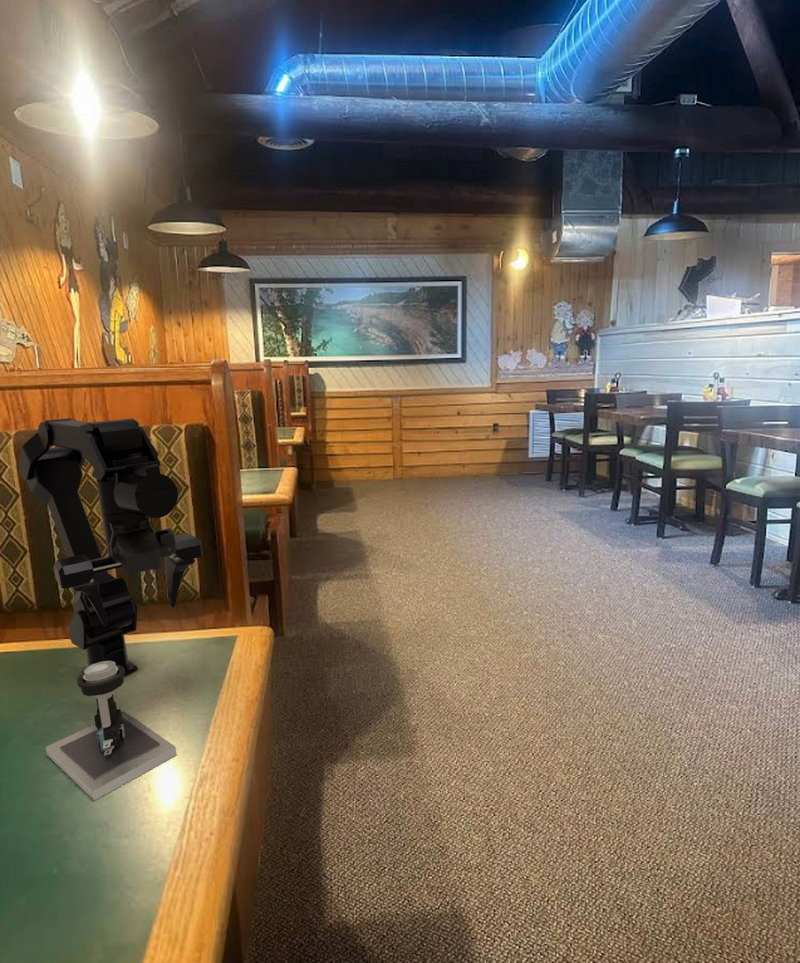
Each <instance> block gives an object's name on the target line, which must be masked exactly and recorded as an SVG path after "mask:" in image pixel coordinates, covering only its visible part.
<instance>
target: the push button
mask: <svg viewBox="0 0 800 963" xmlns="http://www.w3.org/2000/svg"><path fill="white" fill-rule="evenodd" d="M83 671H84V674H82V673H81V675H80V676H79V677H77V680H76V682H77V686H78V687H79V688H80V691H81V692H82V695H83V696H87V697H93V698H96V706H97V710H96V714H95V715H94V717H93V719H94V724H95V726H96V728H97V729H98V731H97V734H96V735H97V742H98V744H99V742H100V745H101V751H102V752H103V751H105V752H104V755H109V754H111V752H112V749H116V748H117V746H118V741H119V737H120V733H121V732H122V735H123V739H124V736H125V732H124V723H123V717H122V710H121V708H117V702H116V701H115V699H114V698H115V697H114V694H113V693H114V692H116V691H117V689H119V688H120V687H122V685H123V684H124V683H125V678H124V676H125V675H126V674H125V669H124V667H122V666H120V665H116V664H115V662H113V661H102V662H98V663H95V664H92V665H90V666H89V665H88V666H87V667H86V668H85V669H84V670H83ZM124 674H125V675H124ZM98 738H99V740H98ZM108 751H109V753H106V752H108Z"/></svg>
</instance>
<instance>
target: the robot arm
mask: <svg viewBox="0 0 800 963" xmlns="http://www.w3.org/2000/svg"><path fill="white" fill-rule="evenodd" d="M54 446H56V447H54ZM85 460H86V462H87V461H88V463H89V464H90V466H91V467H92V469H93V471H92V473H91V476H92V478H94V479H96V486H97V492H98V498H99V500H98V501H99V505H100V512H101V518H102V524H103V530H104V537H105V543H106V548H107V549H106V550H107V556H103V555H102V553H101V550H100V547H99V545H98V542H97V540H96V536H95V534H94V531H93V528H92V525H91V523H90V521H89V517H88V516H87V512H86V511H85V507H84V505H83V502H82V499H81V496H80V493H79V489H80V485H81V482H82V479H83V476H84V473H83V470H82V469H83V465H84V462H85ZM160 466H161V460H159V452H158V451H157V449H156V448H155V446H154V444H153V443H152V441H151V440H150V439H149V437H148V435H147V433H146V431H145V429H144V428H143V427H142V426H141V425H140V422H138V421H137V420H136V419H134V418H123V419H113V420H111V419H110V420H104V421H93V422H92V421H91V422H89V421H83V420H77V419H75V418H70V417H68V418H66V417H65V418H58V419H57V418H56V419H46V420H44V421H42V422H39V424H38V427H37V432H36V433H35V434H34V435H33V436H31V437H30V438H29V439H28V440H27V441H26V442H25V443H24V444H23V445H22V446H21V450H20V456H19V459H18V469H19V474H20V477H21V478H22V479H23V481H26V484H27V486H28V489H29V490H30V493H31V494H33V495H34V496H35V497H37V498H38V499H40V501H42V502H44V503H45V504H46V505H47V506H48V510H49V512H50V514H51V517H52V519H53V522H54V525H55V528H56V530H57V533H58V536H59V539H60V541H61V542H60V543H61V544H62V547H63V550H64V552H65V555H66V557H64V558H60V559H57V560H56V562H55V563H54V564H53V570H54V578H55V580H56V582H57V584H58V585H59V586H60V588H61V589H70V588H71V590H72V592H75V594H74V598H73V601H72V609H73V615H72V619H71V622H70V624H69V626H68V630H67V631H68V635H69V638H70V641H71V644H73V645H74V646H76V647H78V648H80V649H81V650H83V651H84V650H85V652H86V658H87V664H88V667H89V666H90V665H92V664H95V663H98V662H102V661H113V662H115V664H116V665H120V666H122V667H124V669H125V674H124V676H125V675H127V674H131V673H132V672H135V671H137V670H138V668H139V667H138V665H137V664H135V663H133V662H131V661H130V660H129V659H128V658H129V657H128V652H127V651H128V650H127V644H126V640H125V635H126V634H129V633H131V632H132V633H133V632H136V631H137V626H138V623H137V621H138V619H137V618H138V604H137V602H136V601H135V599H134V598H133V596H132V595H131V594H130V591H129V588H128V585H127V583H126V580H124V578H123V577H120V576H119V577H115V576H113V574H111V573H109V570H115V569H120V568H122V569H123V572H124V573H125V574H126V575H128V576H135V575H138V574H140V573H142V572H147V571H150V570H151V571H152V570H153V571H156V570H159V569H161V568H163V566H164V570H165V580H166V590H167V598H168V603H169V607H171V608H175V607H176V604H177V598H178V594H179V589H180V585H181V581H182V578H183V577H184V573H185V571H186V570H187V568H189V566H191V565H194V564H195V563H196V559H197V558H201V557H204V548H203V543H202V540H201V539H199V538H198V537H197V536H194V535H192V534H190V533H188V532H185V533H180V534H175V532H174V531H173V530H172V528H165V529H161V530H157V531H154V530H153V529H152V526H151V521H150V518H151V519H162V518H164V517H165V516H168V515H169V514H170V513H172V511H173V510H174V509H175V507H176V505H177V504H178V500H179V491H178V487H177V486H176V484H175V482H174V481H173V480H172V478H170V477H169V476H168V475H166V474H163V473H161V467H160ZM163 559H164V562H163ZM163 563H164V564H163ZM82 674H84V670H83V671H81V675H82Z"/></svg>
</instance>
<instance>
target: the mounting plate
mask: <svg viewBox="0 0 800 963" xmlns="http://www.w3.org/2000/svg"><path fill="white" fill-rule="evenodd" d="M121 711H122V710H121ZM122 717H123V723H124V732H125V736H124V739H123V735H122V732H121V733H120V737H119V741H118V746H117V748H116V749H112V752H111V754H109V755H104V752H105V751H103V752H102V751H101V745H100V742H99V744H98V742H97V735H96V734H97V731H98V729H97V728H96V726H95V723H94V724H92V725H90V726H88V727H86V728H84V729H81V730H79V731H76V732H75V733H73V734H71V735H68V736H66V737H64V738H62V739H60V740H57V741H55V742H53V743H51V744H49V745H47V746H45V750H46V755H47V757H49V759H50V760H51V761H53V762H54V764H55V765H57V766H58V767H59V768H60V769H61V770H62V771H63V773H65V774H66V775H67V776H68V777H69V778H70V779H71V780H72V781H73V782H74V783H75V784H76V785H77V786H78V787H80V789H82V791H83V792H84V793H86V795H88V796H89V798H91V799H92V800H93V801H97V800H98V799H100V798H102V797H104V796H106V795H107V794H109V793H111V792H113V791H114V790H116V789H118V788H120V787H121V786H123V785H126V784H127V783H129V782H131V781H133V780H134V779H136V778H138V777H139V776H142V775H144V774H145V773H147V772H149V771H151V770H152V769H154V768H157V767H158V766H160V765H161V764H163V763H165V762H167V761H169V760H170V759H172V758H174V757H176V756H177V748H176V746H175V745H174V744H173V743H171V742H170V741H168V740H166V739H165V738H164V737H162V736H161V735H159V734H158V733H157V732H155V730H152V728H149V727H148V726H146V725H145V724H143V723H142V722H141V721H140V720H138V719H136V718H135V717H133V716H132V715H131V714H129V713H127V712H126V711H125V710H123V711H122ZM98 740H99V738H98ZM106 753H109V751H108V752H106Z"/></svg>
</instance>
